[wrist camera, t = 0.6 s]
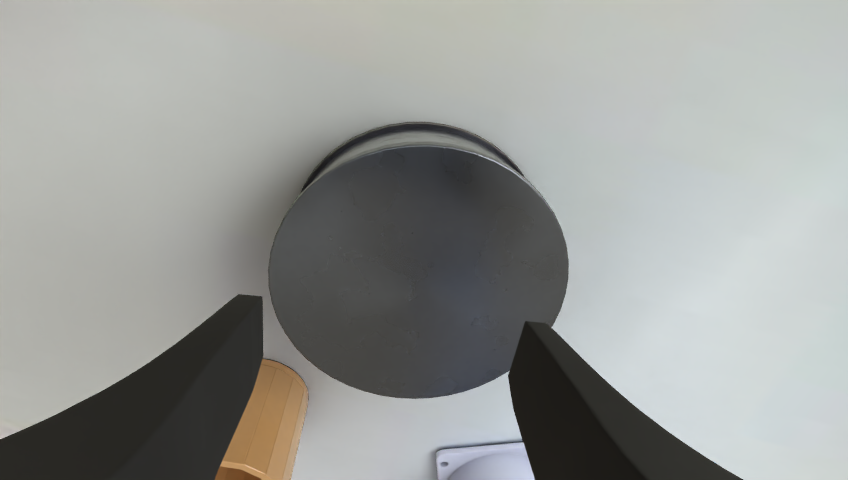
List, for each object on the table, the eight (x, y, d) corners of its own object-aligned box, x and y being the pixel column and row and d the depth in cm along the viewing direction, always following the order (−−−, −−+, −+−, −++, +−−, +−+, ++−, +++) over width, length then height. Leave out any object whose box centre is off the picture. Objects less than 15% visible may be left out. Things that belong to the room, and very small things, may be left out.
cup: (316, 422, 28) (295, 530, 22) (226, 430, 28) (181, 541, 22) (298, 353, 25) (269, 455, 20) (198, 362, 25) (140, 467, 20)
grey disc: (536, 334, 26) (558, 387, 22) (314, 353, 26) (301, 409, 22) (549, 108, 20) (582, 130, 16) (261, 131, 20) (231, 159, 16)
